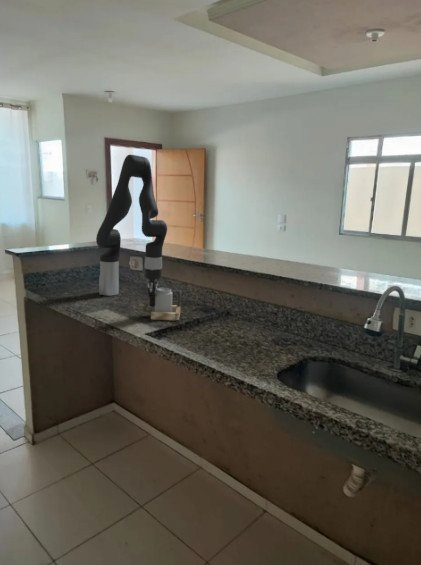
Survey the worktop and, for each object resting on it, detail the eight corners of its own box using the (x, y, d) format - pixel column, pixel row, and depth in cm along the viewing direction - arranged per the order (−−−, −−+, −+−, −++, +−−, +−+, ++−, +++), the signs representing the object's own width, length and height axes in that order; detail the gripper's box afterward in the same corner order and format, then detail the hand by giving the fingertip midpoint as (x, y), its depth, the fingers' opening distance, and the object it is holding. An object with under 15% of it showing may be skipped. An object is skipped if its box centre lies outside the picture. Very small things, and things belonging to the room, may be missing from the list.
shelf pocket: (150, 319, 170) (151, 296, 168) (154, 310, 183) (155, 289, 181) (178, 320, 171) (179, 297, 168) (180, 311, 183) (181, 290, 181)
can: (175, 315, 178) (176, 288, 176) (165, 319, 172) (166, 291, 169) (161, 312, 182) (161, 286, 179) (151, 315, 175) (151, 289, 173)
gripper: (146, 264, 179) (145, 301, 182) (142, 269, 166) (141, 309, 169) (163, 264, 179) (162, 302, 182) (160, 270, 166) (159, 310, 170)
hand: (152, 306), depth 176 cm, fingers closed
